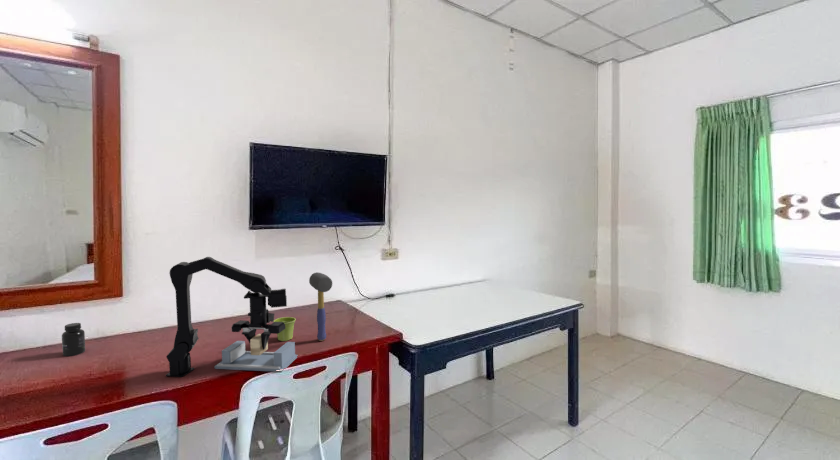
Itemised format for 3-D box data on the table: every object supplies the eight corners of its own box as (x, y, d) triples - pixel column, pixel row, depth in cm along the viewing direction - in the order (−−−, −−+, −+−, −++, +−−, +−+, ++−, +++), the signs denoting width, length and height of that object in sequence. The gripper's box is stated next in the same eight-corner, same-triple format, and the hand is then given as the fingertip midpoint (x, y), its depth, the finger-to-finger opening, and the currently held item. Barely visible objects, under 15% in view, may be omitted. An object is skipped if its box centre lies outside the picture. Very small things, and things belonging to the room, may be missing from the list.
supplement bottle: (58, 357, 147) (56, 328, 146) (69, 351, 154) (67, 322, 153) (79, 355, 149) (77, 326, 148) (89, 349, 156) (87, 321, 155)
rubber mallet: (309, 337, 169) (307, 272, 167) (325, 334, 173) (324, 270, 171) (318, 346, 158) (316, 276, 156) (334, 342, 163) (333, 274, 160)
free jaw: (231, 364, 138) (230, 351, 138) (222, 363, 139) (221, 350, 138) (246, 353, 148) (245, 341, 148) (238, 352, 148) (237, 340, 148)
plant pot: (274, 336, 170) (273, 318, 169) (295, 334, 173) (295, 315, 173) (273, 344, 161) (273, 324, 161) (296, 341, 165) (296, 321, 164)
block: (259, 355, 139) (259, 339, 138) (250, 354, 139) (250, 339, 139) (267, 349, 145) (267, 334, 144) (259, 348, 145) (258, 333, 145)
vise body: (282, 371, 135) (281, 354, 134) (214, 368, 137) (213, 351, 137) (297, 357, 148) (297, 341, 147) (235, 354, 150) (235, 338, 150)
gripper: (291, 303, 148) (292, 342, 149) (246, 302, 150) (248, 340, 151) (277, 311, 137) (278, 353, 138) (229, 310, 139) (231, 351, 140)
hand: (259, 348), depth 142 cm, fingers closed on block, 3 cm apart
